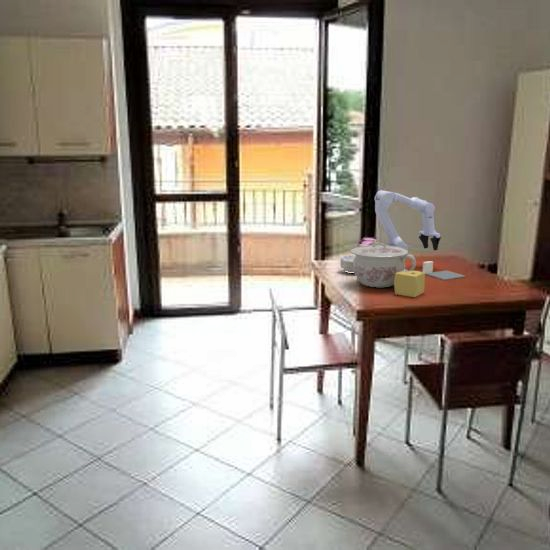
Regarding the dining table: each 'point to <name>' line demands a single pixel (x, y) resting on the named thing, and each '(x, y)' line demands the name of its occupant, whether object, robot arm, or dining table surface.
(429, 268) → the block
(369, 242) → the gum box
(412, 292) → the cheese
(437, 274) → the mat
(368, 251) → the chamber pot
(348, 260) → the paper bowls
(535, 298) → the dining table surface
